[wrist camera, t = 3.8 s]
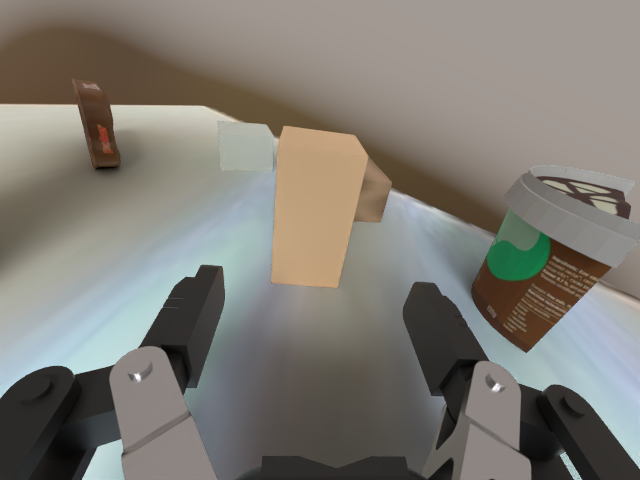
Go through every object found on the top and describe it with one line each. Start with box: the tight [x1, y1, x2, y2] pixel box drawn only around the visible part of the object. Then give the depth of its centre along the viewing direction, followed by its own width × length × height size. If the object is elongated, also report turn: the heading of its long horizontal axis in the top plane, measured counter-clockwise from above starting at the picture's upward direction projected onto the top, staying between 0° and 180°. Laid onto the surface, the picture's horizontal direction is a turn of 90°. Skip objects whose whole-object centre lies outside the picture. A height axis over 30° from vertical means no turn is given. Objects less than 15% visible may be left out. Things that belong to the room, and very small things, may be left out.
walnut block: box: [353, 157, 392, 222], centre depth 32 cm, size 10×10×5 cm
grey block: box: [218, 121, 274, 172], centre depth 39 cm, size 7×7×5 cm
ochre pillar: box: [271, 126, 368, 288], centre depth 20 cm, size 5×5×10 cm
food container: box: [471, 165, 640, 353], centre depth 20 cm, size 12×6×10 cm, turn 135°
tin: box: [72, 79, 120, 168], centre depth 33 cm, size 15×3×8 cm, turn 37°
